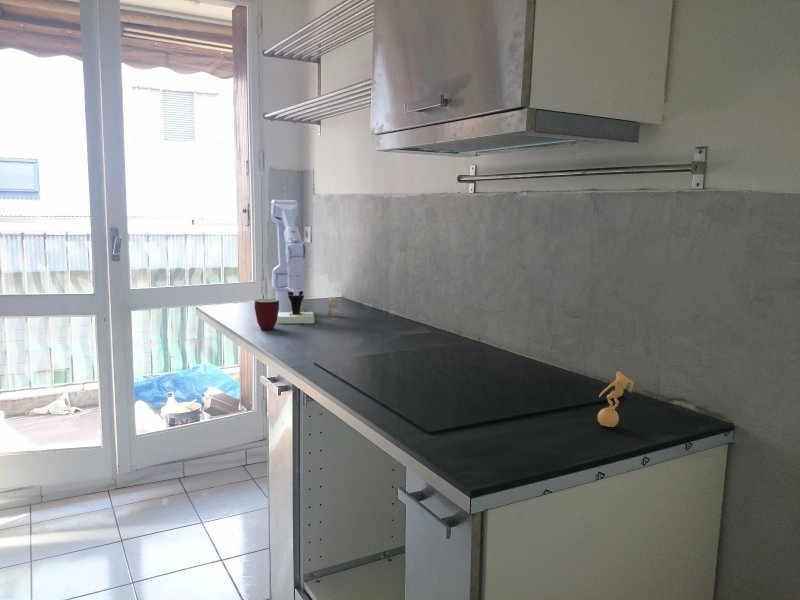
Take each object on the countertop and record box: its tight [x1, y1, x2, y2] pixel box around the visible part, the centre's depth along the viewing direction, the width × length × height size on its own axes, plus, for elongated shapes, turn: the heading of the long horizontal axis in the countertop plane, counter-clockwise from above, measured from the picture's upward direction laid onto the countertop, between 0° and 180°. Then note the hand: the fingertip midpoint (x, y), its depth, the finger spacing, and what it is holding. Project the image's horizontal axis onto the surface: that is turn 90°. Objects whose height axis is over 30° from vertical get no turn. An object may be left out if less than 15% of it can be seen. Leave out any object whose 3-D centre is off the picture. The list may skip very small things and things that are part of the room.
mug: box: [254, 298, 279, 331], centre depth 208 cm, size 11×8×10 cm
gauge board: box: [277, 311, 315, 325], centre depth 223 cm, size 9×13×2 cm
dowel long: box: [328, 297, 338, 318], centre depth 235 cm, size 3×3×7 cm
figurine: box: [597, 370, 635, 428], centre depth 119 cm, size 8×6×12 cm
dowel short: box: [301, 305, 306, 312], centre depth 233 cm, size 3×3×4 cm
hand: (295, 312), depth 223 cm, fingers open, 7 cm apart
